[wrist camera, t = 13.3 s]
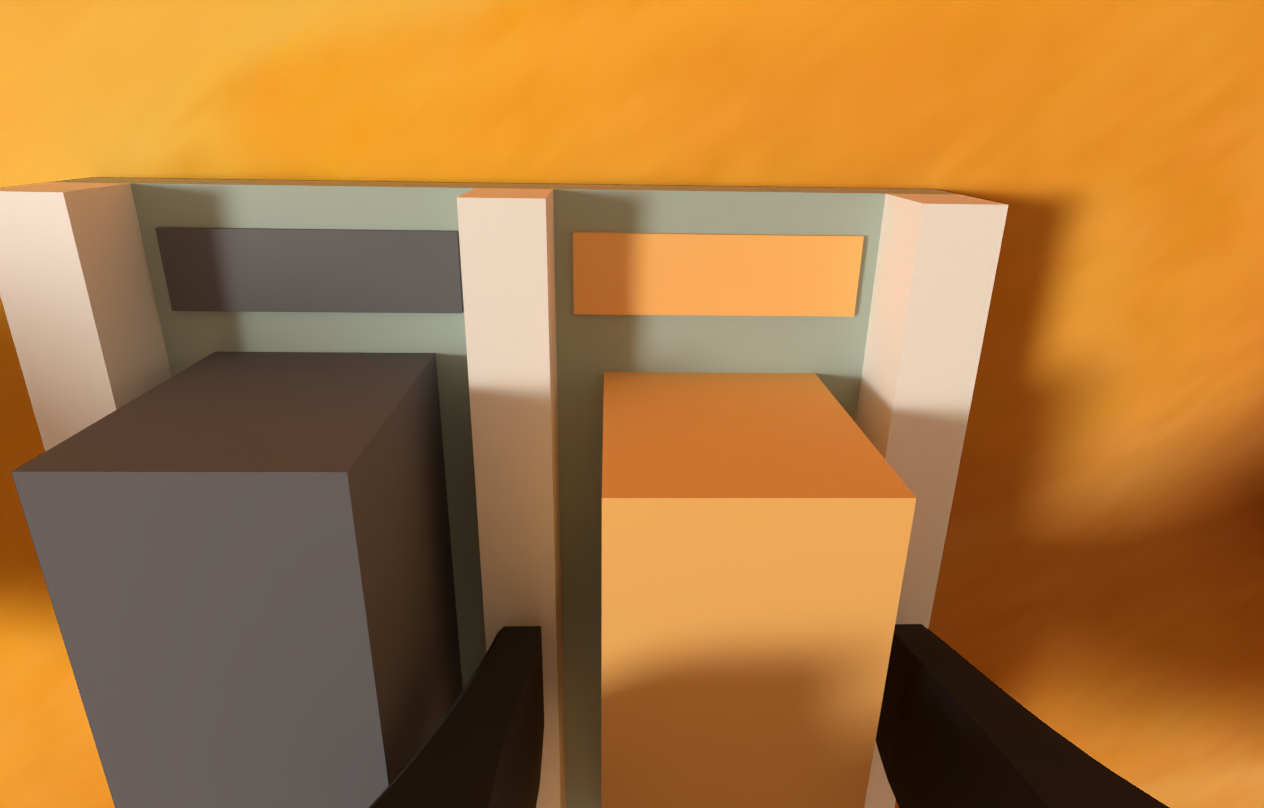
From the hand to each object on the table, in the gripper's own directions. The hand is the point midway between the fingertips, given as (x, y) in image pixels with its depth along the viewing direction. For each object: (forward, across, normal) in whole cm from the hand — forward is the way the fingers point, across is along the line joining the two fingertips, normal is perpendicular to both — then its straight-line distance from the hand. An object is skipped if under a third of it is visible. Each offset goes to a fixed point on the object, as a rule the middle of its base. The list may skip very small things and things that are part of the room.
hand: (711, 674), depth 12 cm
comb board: (+3, +3, 0) cm, 4 cm away
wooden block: (+2, 0, 0) cm, 2 cm away
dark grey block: (+2, +6, 0) cm, 7 cm away
